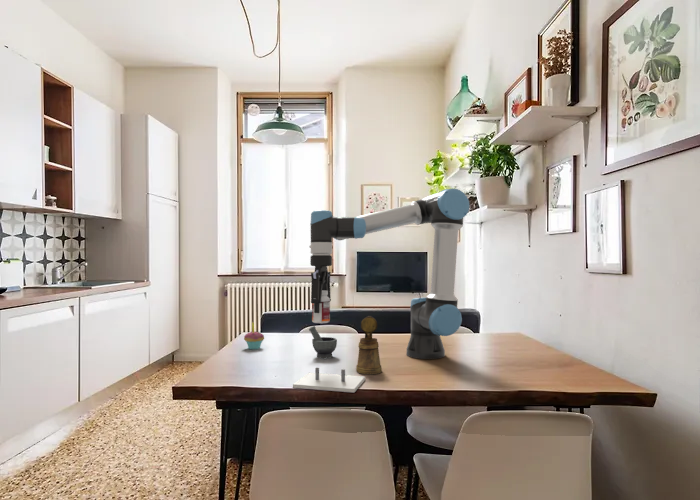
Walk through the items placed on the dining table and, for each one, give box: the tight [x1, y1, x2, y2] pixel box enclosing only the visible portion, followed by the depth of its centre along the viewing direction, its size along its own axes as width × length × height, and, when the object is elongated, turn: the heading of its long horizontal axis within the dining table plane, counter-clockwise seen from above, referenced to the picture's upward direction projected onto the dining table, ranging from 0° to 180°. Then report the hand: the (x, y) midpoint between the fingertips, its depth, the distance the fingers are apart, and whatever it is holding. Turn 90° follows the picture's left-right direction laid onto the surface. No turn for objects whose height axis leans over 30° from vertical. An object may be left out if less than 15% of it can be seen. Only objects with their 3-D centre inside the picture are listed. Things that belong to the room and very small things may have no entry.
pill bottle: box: [311, 290, 331, 324], centre depth 153 cm, size 6×6×11 cm
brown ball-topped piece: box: [355, 315, 383, 375], centre depth 153 cm, size 9×14×18 cm, turn 176°
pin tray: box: [292, 367, 366, 394], centre depth 136 cm, size 19×14×4 cm
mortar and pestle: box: [308, 325, 338, 359], centre depth 173 cm, size 11×9×12 cm
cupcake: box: [243, 322, 265, 350], centre depth 190 cm, size 9×8×12 cm
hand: (321, 321), depth 152 cm, fingers closed on pill bottle, 6 cm apart
